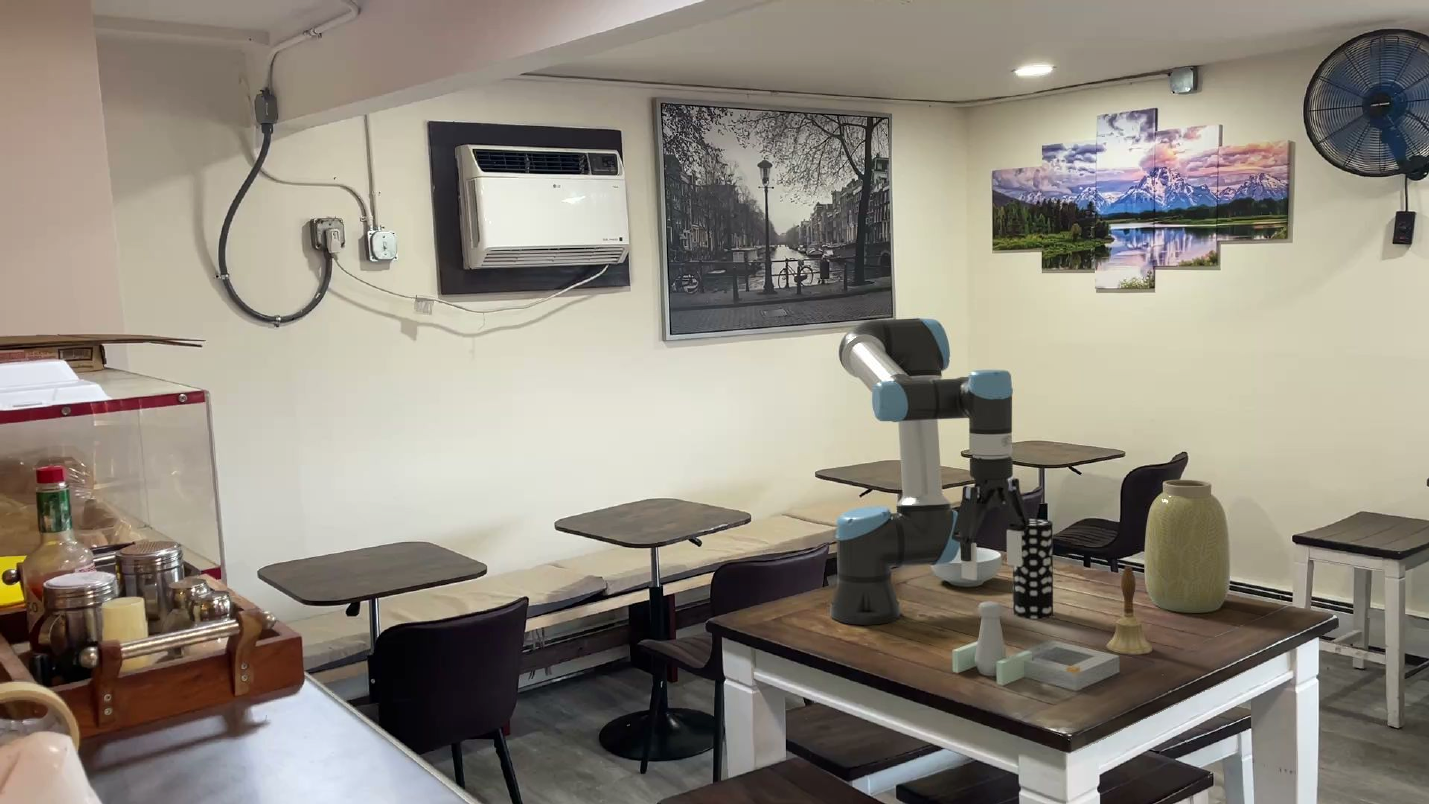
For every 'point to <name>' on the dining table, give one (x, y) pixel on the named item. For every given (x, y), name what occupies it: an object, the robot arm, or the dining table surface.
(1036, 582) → the white-spotted black cylinder
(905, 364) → the robot arm
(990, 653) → the salt shaker
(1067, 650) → the socket
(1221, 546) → the vase
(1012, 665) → the pale green rectangular blocks
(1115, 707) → the dining table surface
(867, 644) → the dining table surface
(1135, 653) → the hand bell
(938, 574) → the cereal bowl
